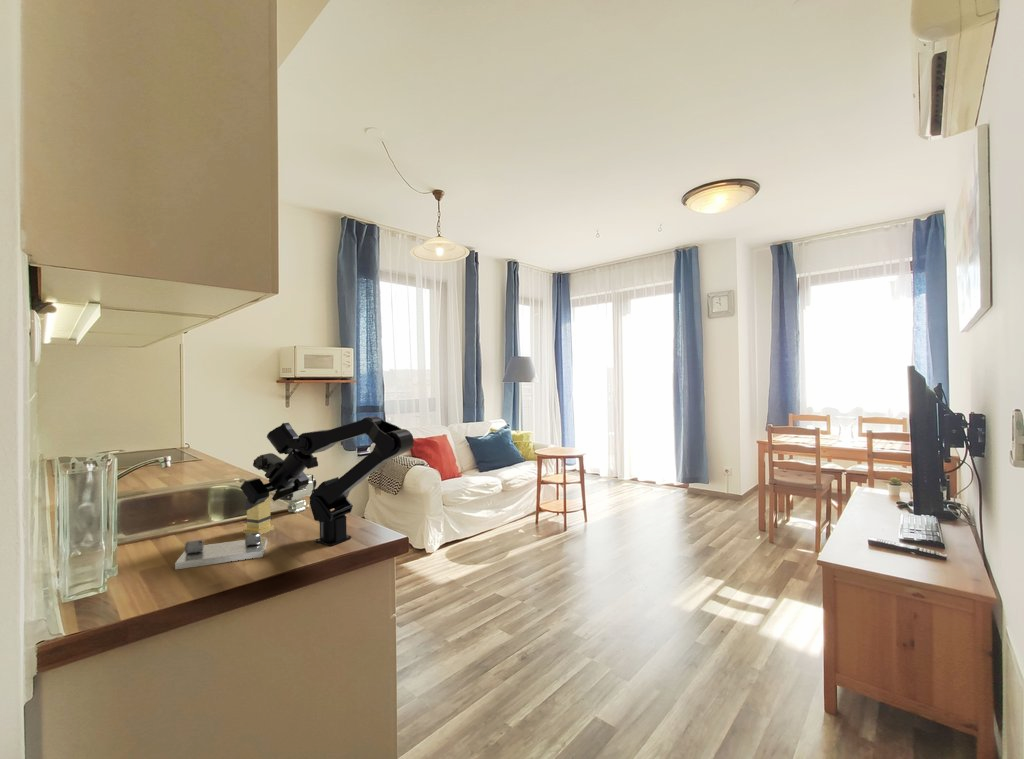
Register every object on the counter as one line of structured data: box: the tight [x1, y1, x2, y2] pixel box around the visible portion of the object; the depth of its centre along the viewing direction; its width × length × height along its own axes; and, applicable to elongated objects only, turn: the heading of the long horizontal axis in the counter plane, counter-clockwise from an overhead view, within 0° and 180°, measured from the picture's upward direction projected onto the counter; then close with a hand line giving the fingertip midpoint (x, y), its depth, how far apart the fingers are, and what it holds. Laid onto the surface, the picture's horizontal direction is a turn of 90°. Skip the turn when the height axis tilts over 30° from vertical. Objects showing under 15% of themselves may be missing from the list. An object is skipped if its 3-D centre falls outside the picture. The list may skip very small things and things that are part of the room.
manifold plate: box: [174, 533, 268, 570], centre depth 107 cm, size 17×10×4 cm, turn 113°
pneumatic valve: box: [275, 473, 317, 514], centre depth 142 cm, size 6×12×12 cm, turn 156°
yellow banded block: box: [243, 493, 275, 535], centre depth 124 cm, size 5×5×10 cm
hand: (260, 504), depth 124 cm, fingers open, 9 cm apart
